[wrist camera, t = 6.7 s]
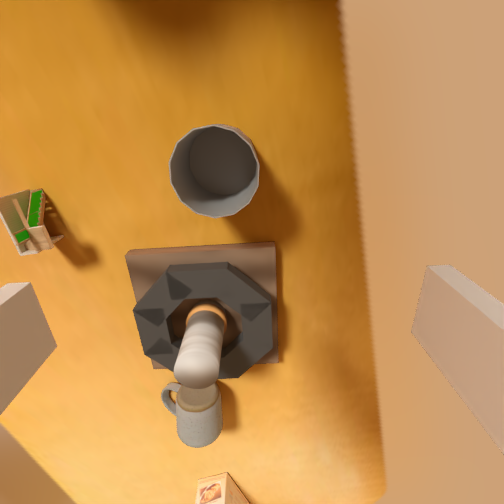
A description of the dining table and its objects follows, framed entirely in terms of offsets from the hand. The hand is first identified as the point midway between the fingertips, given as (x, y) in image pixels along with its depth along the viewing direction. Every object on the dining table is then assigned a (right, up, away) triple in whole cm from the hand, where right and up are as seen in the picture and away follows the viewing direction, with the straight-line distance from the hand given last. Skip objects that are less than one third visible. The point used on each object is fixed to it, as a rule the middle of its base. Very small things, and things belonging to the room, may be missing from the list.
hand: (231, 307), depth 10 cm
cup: (-3, +13, +26) cm, 30 cm away
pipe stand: (-6, -6, +35) cm, 36 cm away
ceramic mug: (-9, -23, +42) cm, 49 cm away
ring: (-6, -8, +31) cm, 33 cm away
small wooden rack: (-26, +7, +29) cm, 40 cm away
